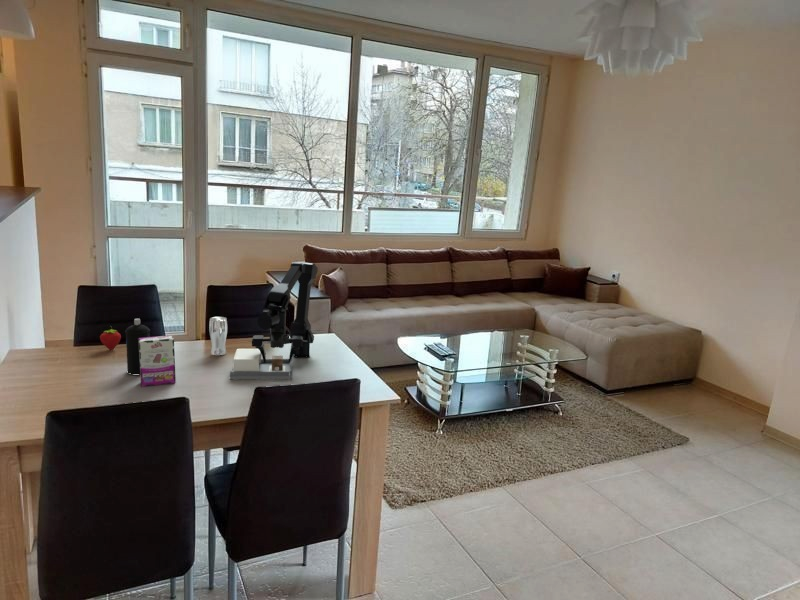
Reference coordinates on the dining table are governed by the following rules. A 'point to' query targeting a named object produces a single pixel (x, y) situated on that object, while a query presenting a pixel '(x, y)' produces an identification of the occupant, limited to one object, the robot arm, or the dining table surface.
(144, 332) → the black bottle
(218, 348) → the beer glass
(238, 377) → the housing base
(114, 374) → the dining table surface
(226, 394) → the dining table surface
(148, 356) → the candy bar box
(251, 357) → the cover
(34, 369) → the dining table surface
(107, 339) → the strawberry
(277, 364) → the walnut block
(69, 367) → the dining table surface
